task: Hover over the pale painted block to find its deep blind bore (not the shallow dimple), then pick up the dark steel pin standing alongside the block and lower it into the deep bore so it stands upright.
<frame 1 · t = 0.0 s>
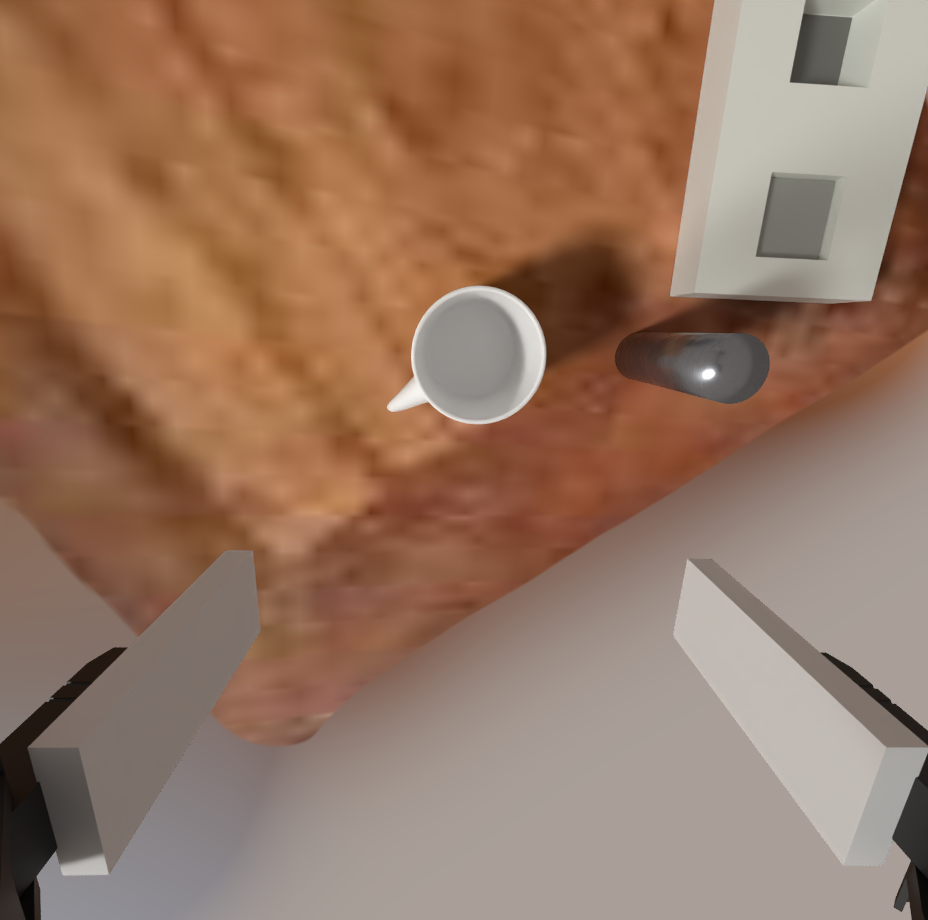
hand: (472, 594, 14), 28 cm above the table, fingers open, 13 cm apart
bore block: (779, 152, 36), on the table
steel pin: (637, 356, 40), on the table
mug: (453, 360, 40), on the table
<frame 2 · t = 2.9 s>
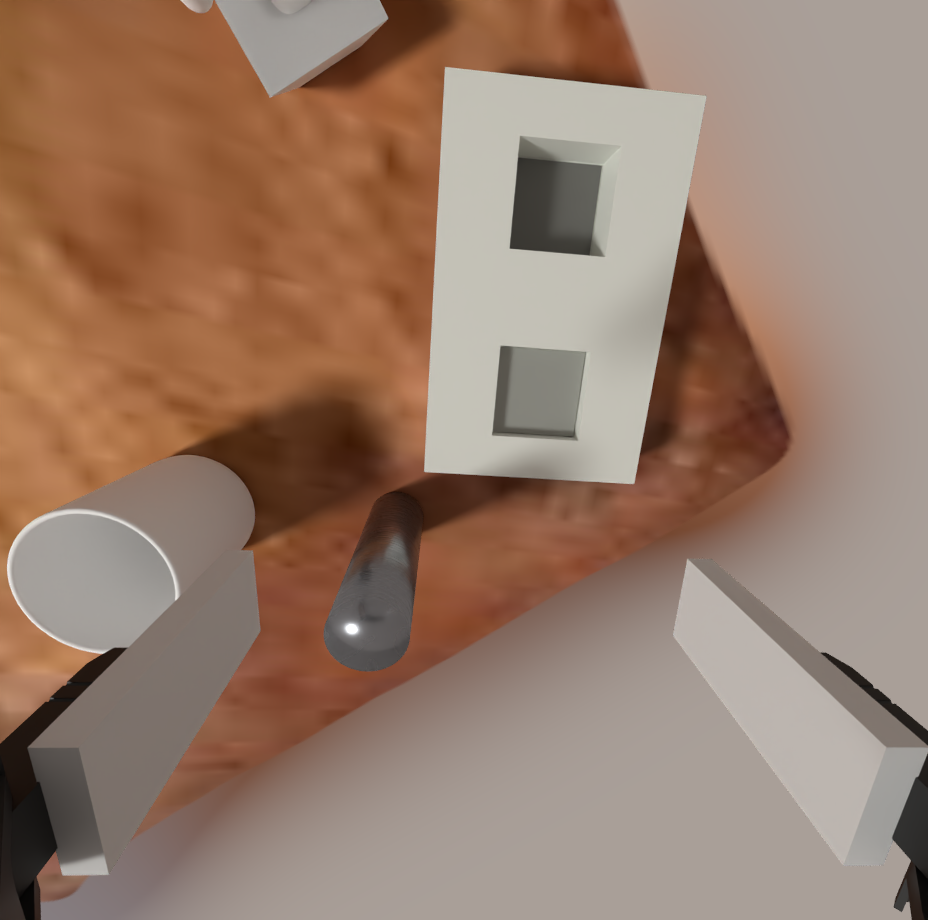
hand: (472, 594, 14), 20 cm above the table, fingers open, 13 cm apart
bore block: (538, 305, 31), on the table
figurine: (309, 29, 26), on the table
steel pin: (396, 516, 35), on the table
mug: (183, 516, 34), on the table
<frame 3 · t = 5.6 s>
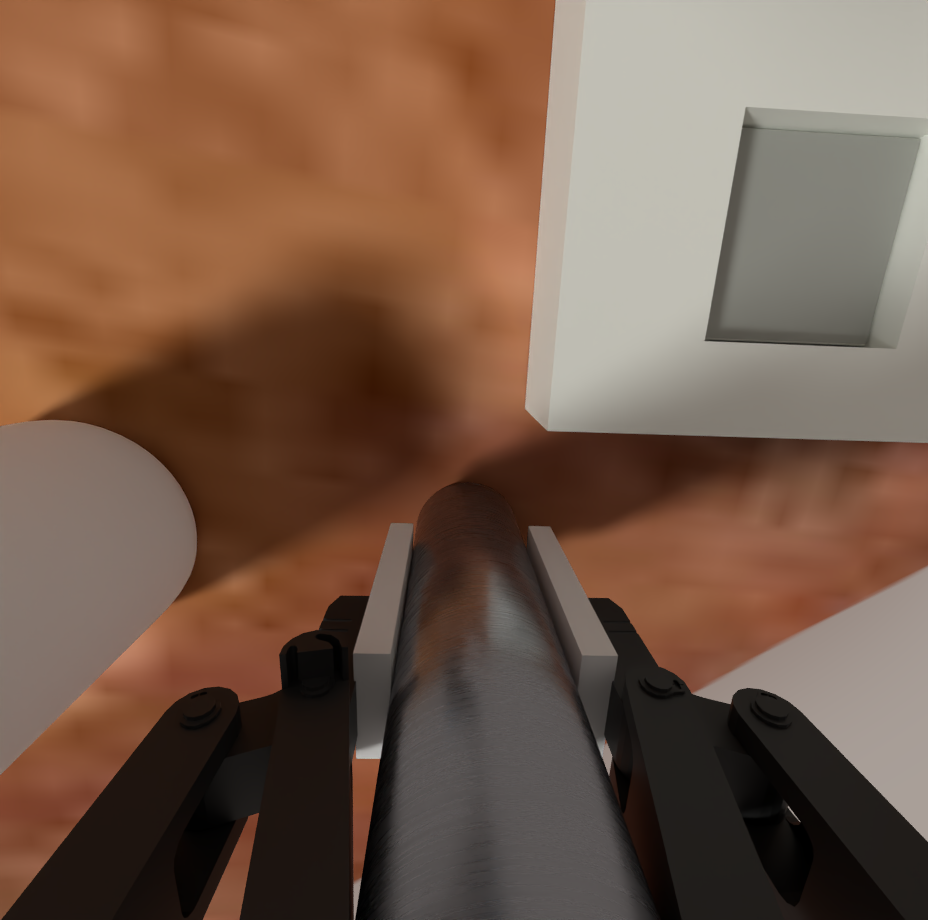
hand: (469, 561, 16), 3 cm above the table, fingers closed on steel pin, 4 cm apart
bore block: (769, 72, 15), on the table
steel pin: (466, 529, 18), on the table, touching gripper
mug: (64, 542, 18), on the table
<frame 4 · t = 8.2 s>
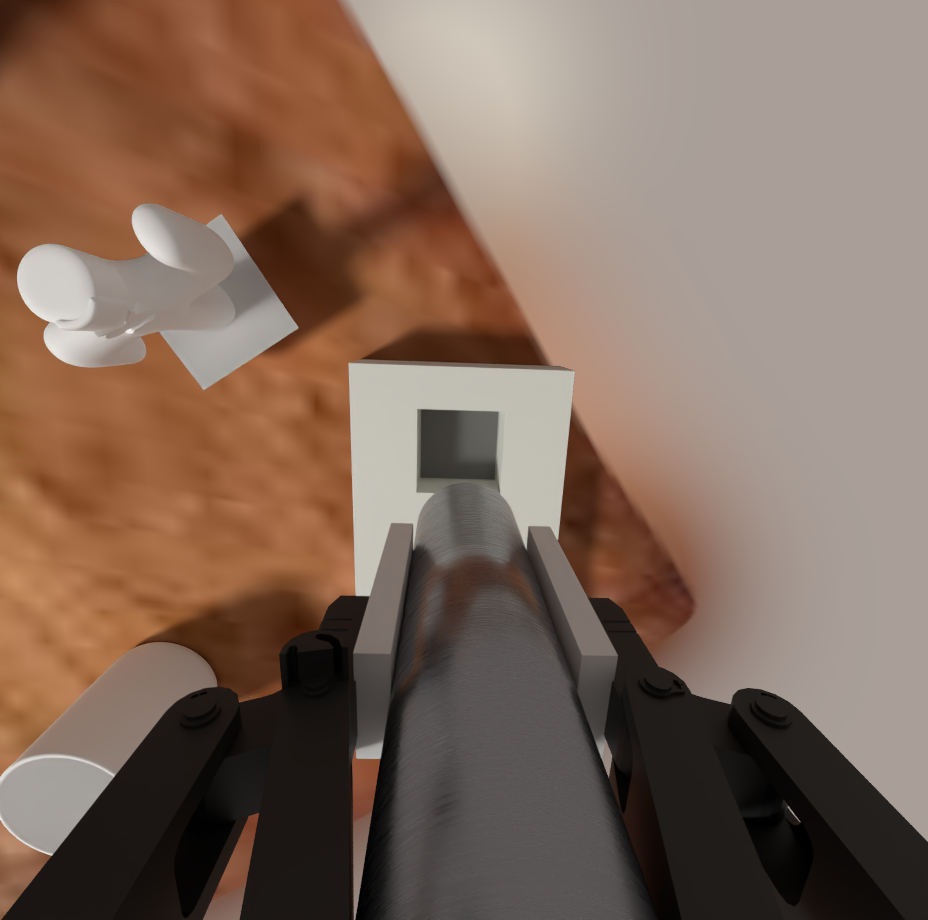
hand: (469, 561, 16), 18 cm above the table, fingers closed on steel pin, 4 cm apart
bore block: (456, 508, 35), on the table
figurine: (240, 309, 31), on the table
steel pin: (466, 529, 19), point 16 cm above the table, touching gripper
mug: (155, 688, 39), on the table
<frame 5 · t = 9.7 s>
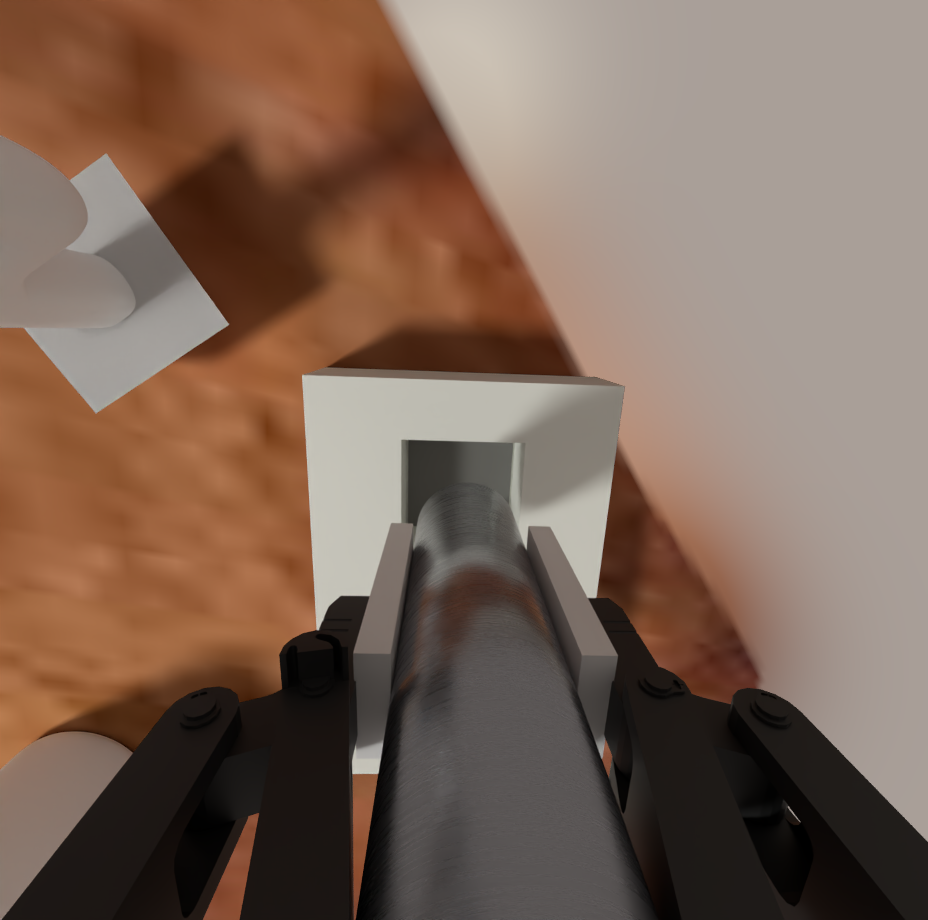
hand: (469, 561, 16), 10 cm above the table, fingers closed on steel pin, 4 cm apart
bore block: (455, 563, 27), on the table
figurine: (158, 298, 22), on the table
steel pin: (466, 529, 19), point 7 cm above the table, touching gripper
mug: (70, 785, 30), on the table
when the fingers open (5 cm above the table, at t = 10.8 s): steel pin drops 1 cm, resting on bore block.
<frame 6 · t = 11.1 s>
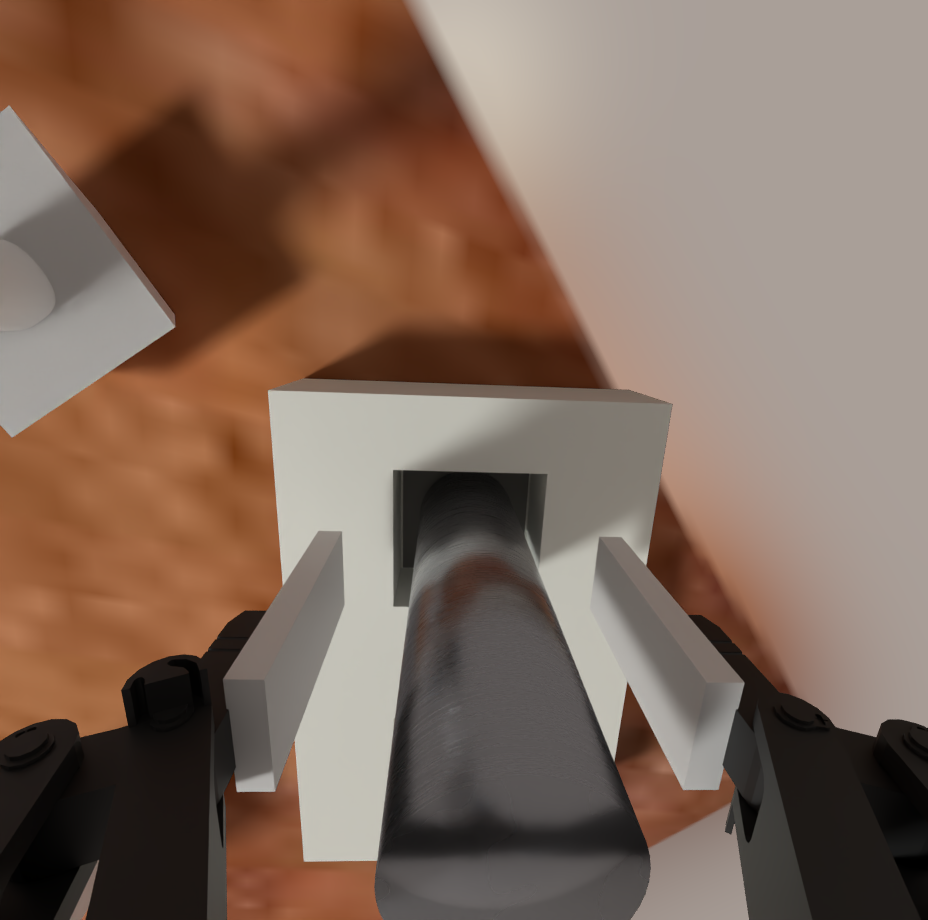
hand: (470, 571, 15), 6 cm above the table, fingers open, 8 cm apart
bore block: (459, 608, 23), on the table
figurine: (98, 295, 18), on the table
steel pin: (466, 513, 20), point 1 cm above the table, touching bore block
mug: (14, 858, 26), on the table
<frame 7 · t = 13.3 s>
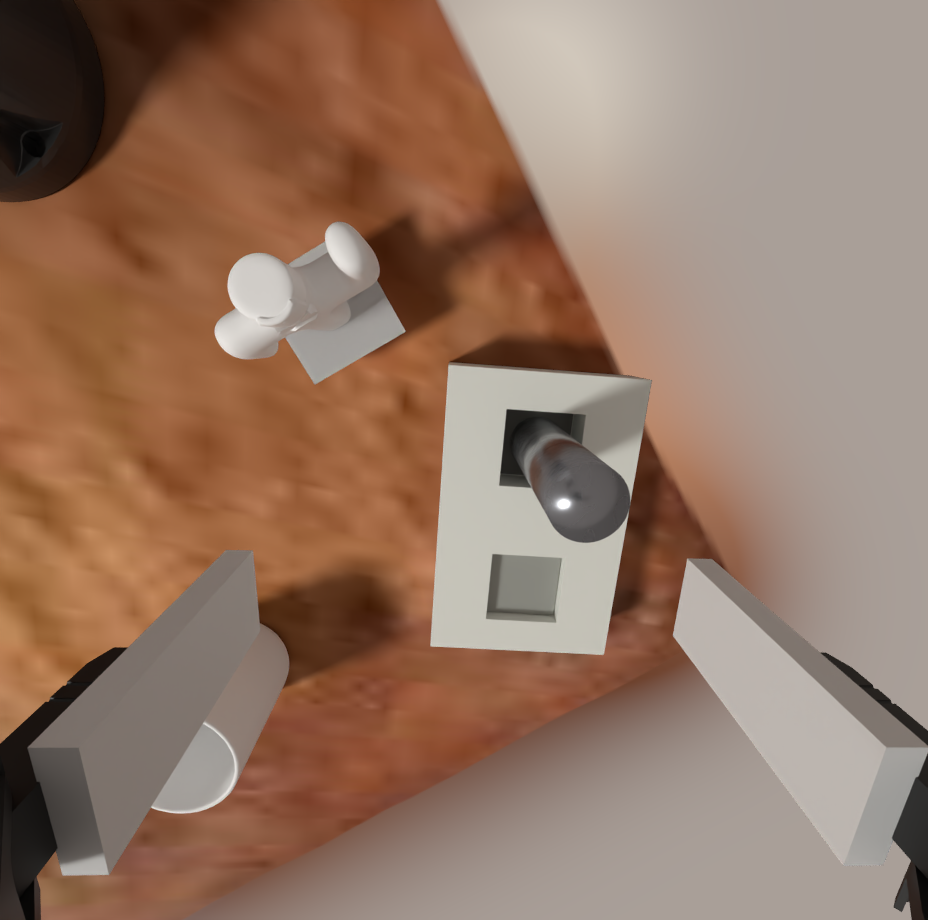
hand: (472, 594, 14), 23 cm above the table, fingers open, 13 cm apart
bore block: (524, 504, 38), on the table
figurine: (343, 312, 34), on the table
steel pin: (535, 442, 35), point 1 cm above the table, touching bore block
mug: (229, 663, 41), on the table
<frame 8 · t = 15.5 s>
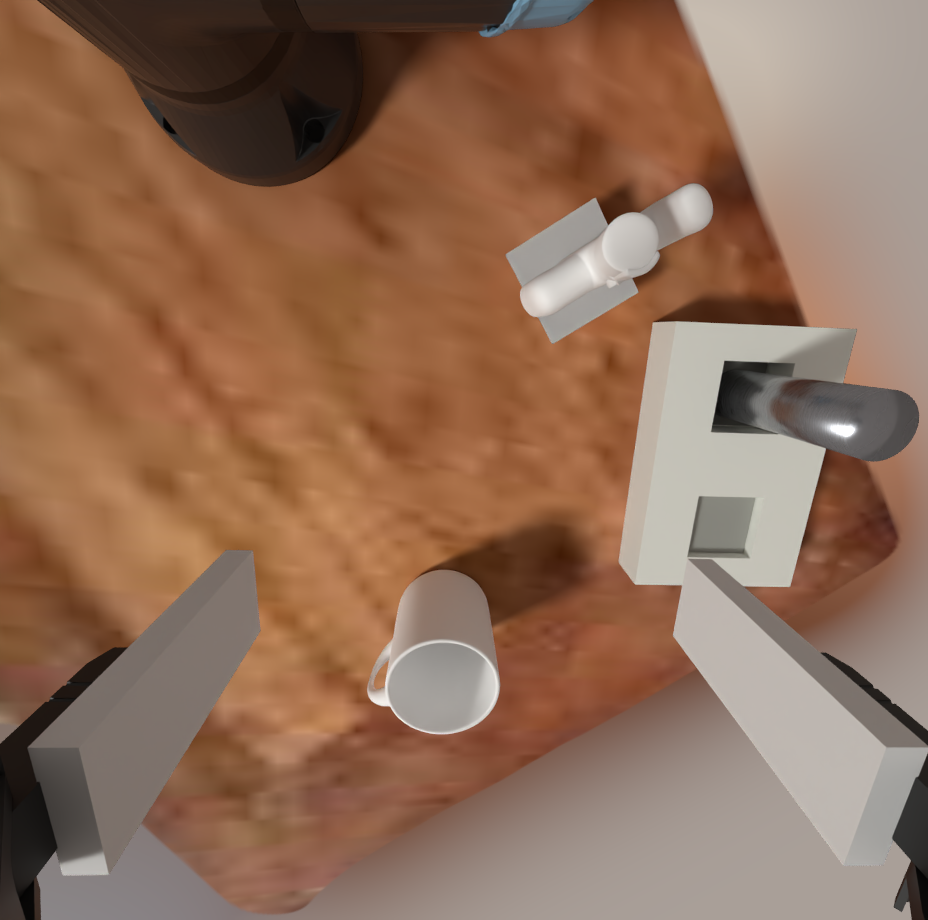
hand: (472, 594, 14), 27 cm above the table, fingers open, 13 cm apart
bore block: (710, 453, 41), on the table
figurine: (560, 279, 37), on the table
steel pin: (731, 393, 39), point 1 cm above the table, touching bore block
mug: (429, 612, 45), on the table
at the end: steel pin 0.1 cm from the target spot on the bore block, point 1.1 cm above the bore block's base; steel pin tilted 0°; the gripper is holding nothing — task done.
